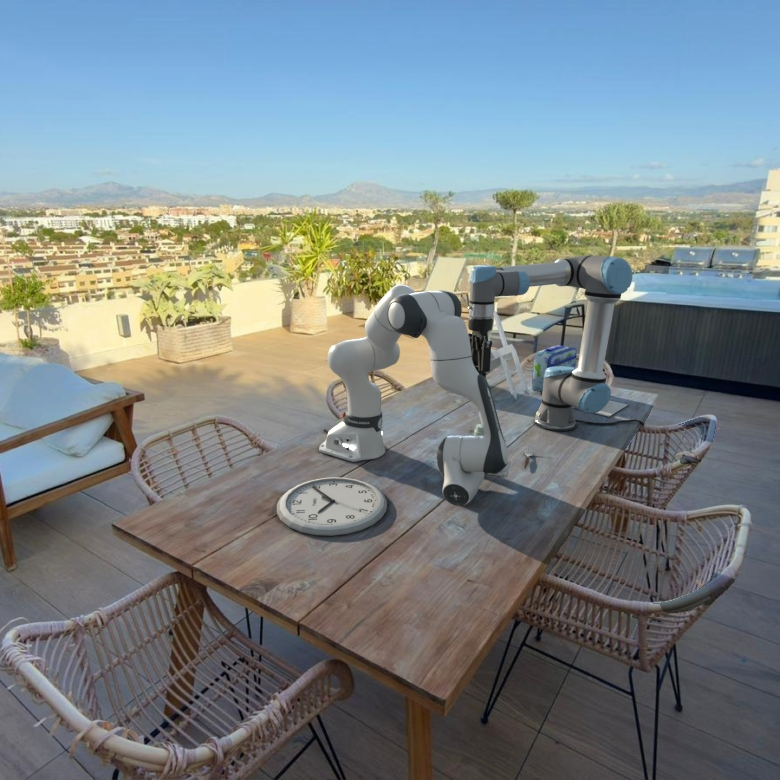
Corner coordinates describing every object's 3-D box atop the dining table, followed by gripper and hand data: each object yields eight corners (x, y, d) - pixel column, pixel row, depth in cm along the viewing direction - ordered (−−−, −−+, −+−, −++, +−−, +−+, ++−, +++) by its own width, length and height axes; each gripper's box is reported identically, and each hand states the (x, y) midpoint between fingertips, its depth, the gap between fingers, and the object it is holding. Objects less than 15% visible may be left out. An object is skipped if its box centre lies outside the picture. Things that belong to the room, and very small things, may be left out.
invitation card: (608, 416, 214) (573, 407, 224) (608, 416, 214) (573, 408, 224) (628, 404, 229) (594, 396, 238) (628, 405, 229) (594, 397, 238)
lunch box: (548, 398, 236) (553, 353, 229) (527, 393, 243) (531, 349, 237) (575, 387, 253) (581, 344, 247) (555, 382, 260) (560, 341, 254)
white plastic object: (461, 429, 252) (437, 405, 227) (444, 352, 274) (420, 323, 250) (535, 404, 240) (518, 377, 215) (510, 326, 262) (492, 293, 237)
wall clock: (392, 527, 129) (268, 531, 127) (391, 533, 130) (269, 537, 127) (383, 473, 158) (282, 475, 155) (383, 478, 158) (282, 480, 156)
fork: (520, 469, 166) (521, 463, 165) (526, 450, 180) (526, 444, 180) (528, 470, 165) (529, 464, 164) (533, 451, 179) (534, 445, 179)
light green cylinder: (472, 475, 161) (476, 428, 157) (470, 469, 166) (473, 423, 161) (487, 475, 161) (491, 428, 157) (484, 469, 166) (488, 423, 161)
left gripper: (507, 467, 146) (515, 449, 158) (436, 455, 153) (449, 438, 165) (505, 487, 147) (513, 468, 160) (436, 474, 155) (448, 456, 167)
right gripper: (459, 312, 168) (456, 381, 176) (481, 322, 152) (476, 398, 159) (480, 311, 170) (477, 380, 177) (504, 321, 153) (499, 396, 161)
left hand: (480, 452), depth 162 cm, fingers closed on light green cylinder, 4 cm apart
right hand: (477, 388), depth 168 cm, fingers closed on lid, 5 cm apart
